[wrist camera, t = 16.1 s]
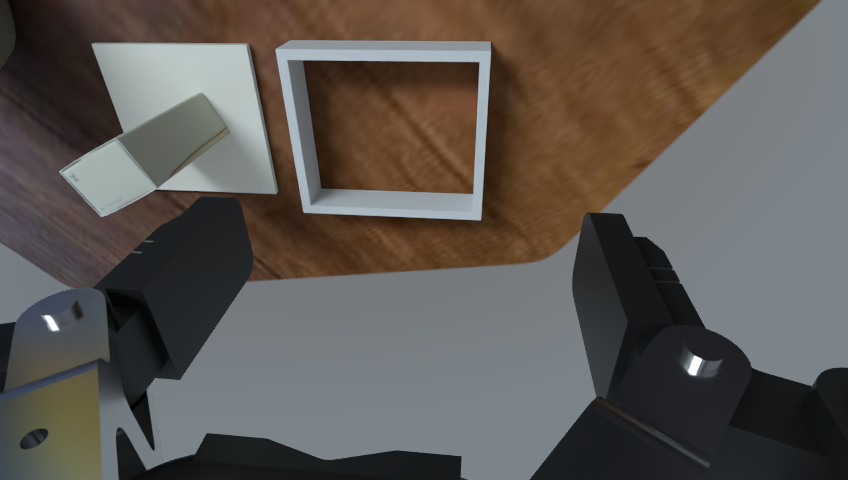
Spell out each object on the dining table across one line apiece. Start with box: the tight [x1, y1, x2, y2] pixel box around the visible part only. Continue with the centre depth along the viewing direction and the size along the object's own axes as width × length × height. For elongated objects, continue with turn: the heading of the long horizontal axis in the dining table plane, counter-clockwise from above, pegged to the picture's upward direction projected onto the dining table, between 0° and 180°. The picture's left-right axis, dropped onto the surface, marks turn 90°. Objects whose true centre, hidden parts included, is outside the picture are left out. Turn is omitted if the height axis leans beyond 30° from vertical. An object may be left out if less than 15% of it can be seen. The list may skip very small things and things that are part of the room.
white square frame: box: [276, 40, 491, 220], centre depth 42 cm, size 15×17×4 cm
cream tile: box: [91, 42, 278, 194], centre depth 45 cm, size 14×14×1 cm
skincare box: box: [59, 93, 229, 217], centre depth 40 cm, size 6×4×12 cm
